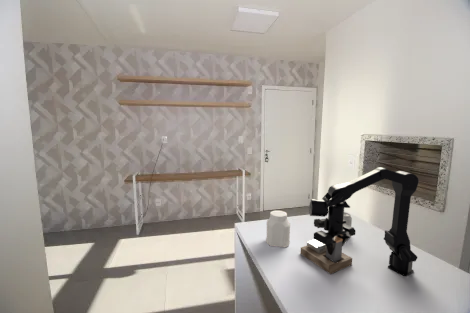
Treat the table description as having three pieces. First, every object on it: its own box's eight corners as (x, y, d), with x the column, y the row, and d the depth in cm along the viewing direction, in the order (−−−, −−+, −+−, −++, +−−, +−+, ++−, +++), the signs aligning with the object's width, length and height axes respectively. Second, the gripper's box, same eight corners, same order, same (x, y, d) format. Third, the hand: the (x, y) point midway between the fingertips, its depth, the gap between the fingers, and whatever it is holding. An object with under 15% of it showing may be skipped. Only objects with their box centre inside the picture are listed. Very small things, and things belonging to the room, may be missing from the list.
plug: (332, 254, 92) (333, 234, 92) (341, 259, 89) (342, 239, 88) (325, 256, 91) (326, 236, 90) (334, 262, 87) (335, 241, 86)
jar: (265, 246, 104) (266, 216, 102) (266, 236, 114) (267, 209, 112) (290, 248, 102) (291, 217, 100) (288, 238, 112) (289, 210, 110)
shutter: (330, 249, 95) (330, 243, 95) (319, 253, 92) (319, 247, 91) (317, 242, 101) (317, 236, 101) (306, 246, 98) (307, 240, 98)
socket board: (351, 264, 89) (352, 258, 89) (330, 274, 83) (330, 266, 83) (320, 246, 103) (320, 240, 103) (300, 253, 98) (300, 247, 97)
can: (347, 232, 119) (348, 211, 118) (353, 238, 112) (354, 216, 110) (333, 231, 120) (334, 210, 118) (338, 238, 112) (339, 216, 111)
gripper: (334, 207, 99) (332, 239, 101) (304, 214, 91) (302, 249, 92) (357, 215, 89) (354, 251, 91) (326, 224, 81) (324, 263, 82)
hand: (333, 253), depth 89 cm, fingers closed on plug, 4 cm apart
